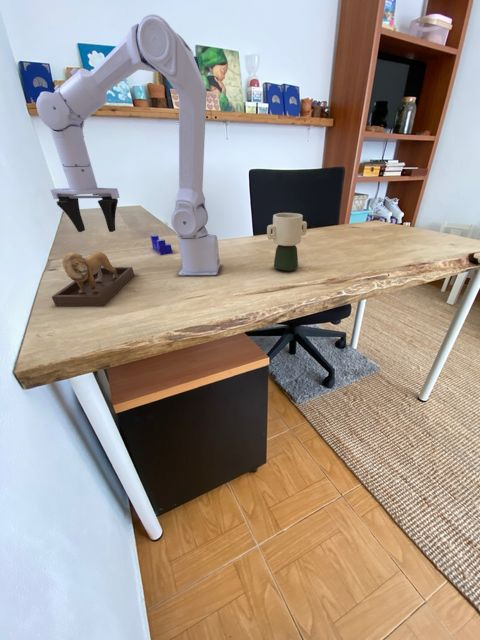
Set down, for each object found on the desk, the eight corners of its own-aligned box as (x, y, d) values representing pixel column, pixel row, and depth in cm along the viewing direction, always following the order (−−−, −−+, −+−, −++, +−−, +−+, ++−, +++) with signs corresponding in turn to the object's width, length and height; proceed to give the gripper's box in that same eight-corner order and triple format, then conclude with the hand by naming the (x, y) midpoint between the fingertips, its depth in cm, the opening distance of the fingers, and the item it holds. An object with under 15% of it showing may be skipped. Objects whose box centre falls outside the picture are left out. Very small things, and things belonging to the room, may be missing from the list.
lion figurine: (94, 300, 60) (78, 255, 55) (68, 300, 60) (50, 255, 55) (123, 275, 72) (112, 236, 67) (101, 275, 72) (89, 236, 67)
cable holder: (172, 253, 89) (169, 239, 87) (160, 254, 88) (158, 241, 85) (163, 247, 95) (161, 234, 92) (153, 248, 93) (150, 235, 91)
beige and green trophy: (296, 262, 81) (299, 211, 74) (310, 269, 76) (315, 215, 69) (261, 267, 78) (260, 214, 70) (273, 276, 72) (274, 219, 65)
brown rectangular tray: (134, 275, 73) (132, 267, 72) (103, 306, 59) (99, 296, 58) (96, 275, 73) (93, 267, 72) (55, 306, 59) (51, 296, 58)
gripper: (117, 165, 68) (132, 227, 76) (55, 165, 68) (76, 227, 76) (103, 166, 62) (121, 233, 70) (35, 167, 62) (60, 234, 70)
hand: (97, 231), depth 72 cm, fingers open, 7 cm apart
